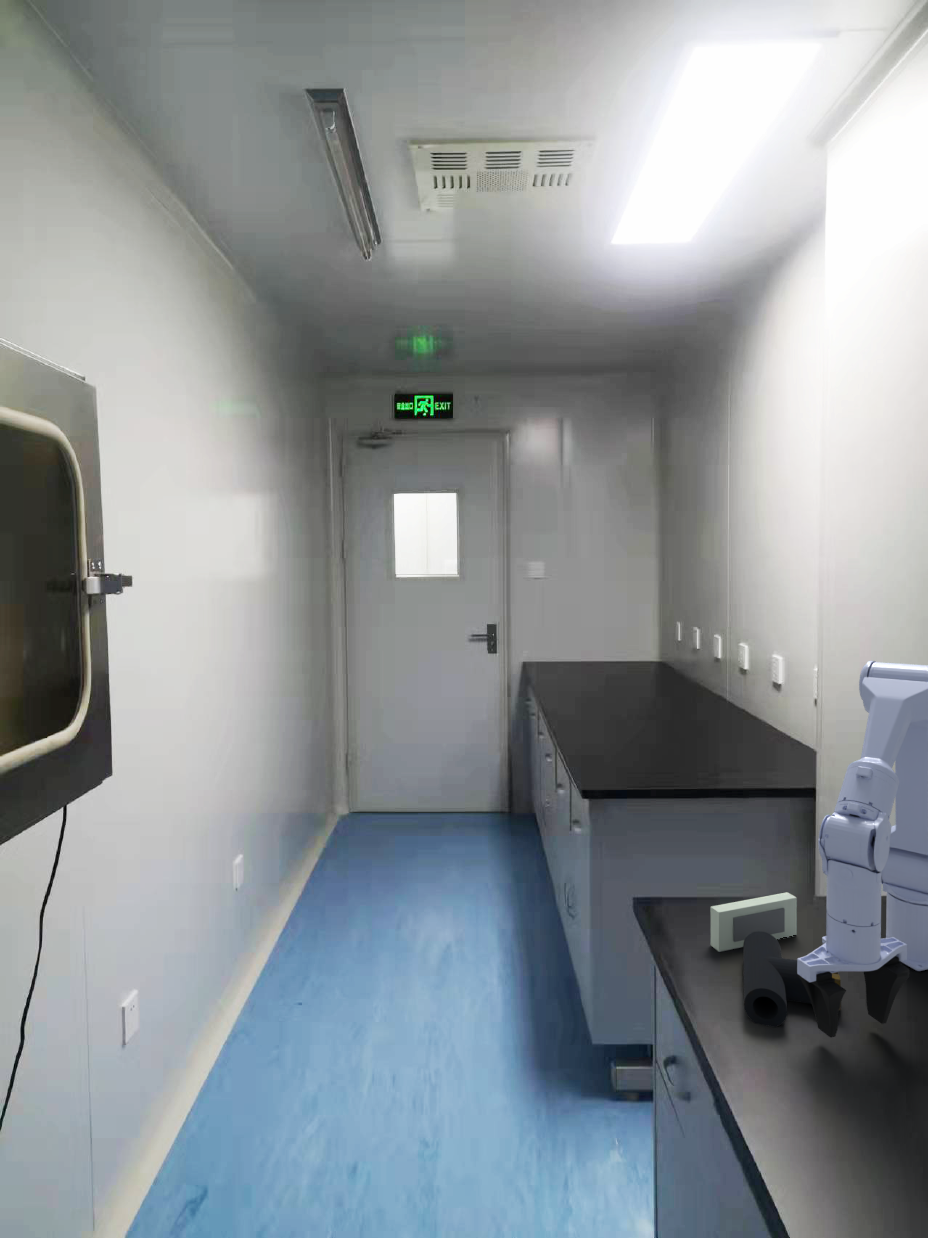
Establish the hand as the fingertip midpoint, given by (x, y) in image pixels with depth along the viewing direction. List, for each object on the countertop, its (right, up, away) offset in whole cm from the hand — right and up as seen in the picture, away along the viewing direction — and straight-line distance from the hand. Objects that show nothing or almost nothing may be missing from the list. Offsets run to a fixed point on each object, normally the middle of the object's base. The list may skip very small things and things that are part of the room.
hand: (852, 1025), depth 87 cm
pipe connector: (-3, -2, +9) cm, 10 cm away
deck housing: (-2, 0, +23) cm, 23 cm away
